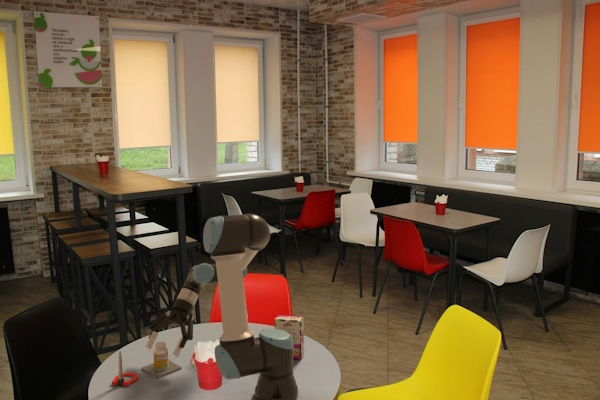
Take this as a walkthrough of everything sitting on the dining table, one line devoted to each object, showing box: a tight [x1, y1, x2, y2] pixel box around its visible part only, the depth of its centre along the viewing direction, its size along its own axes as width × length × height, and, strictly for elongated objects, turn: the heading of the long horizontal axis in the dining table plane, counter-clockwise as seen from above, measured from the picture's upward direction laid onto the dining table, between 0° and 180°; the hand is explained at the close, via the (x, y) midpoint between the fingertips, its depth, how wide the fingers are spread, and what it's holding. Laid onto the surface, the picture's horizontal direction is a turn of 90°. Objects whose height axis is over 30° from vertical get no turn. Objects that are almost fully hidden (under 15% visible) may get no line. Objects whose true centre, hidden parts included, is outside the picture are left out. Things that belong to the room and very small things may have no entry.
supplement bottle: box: [153, 341, 169, 370], centre depth 210 cm, size 5×5×10 cm
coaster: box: [140, 359, 183, 380], centre depth 210 cm, size 11×11×1 cm
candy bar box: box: [274, 314, 305, 361], centre depth 220 cm, size 11×5×16 cm, turn 76°
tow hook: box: [111, 350, 139, 387], centre depth 201 cm, size 8×13×9 cm
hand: (161, 351), depth 210 cm, fingers open, 13 cm apart
